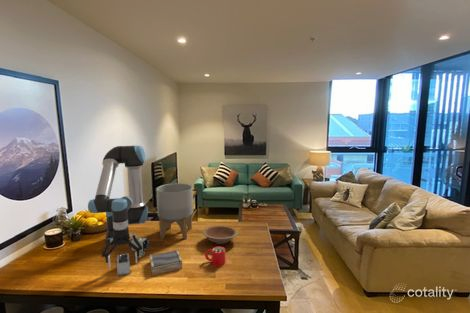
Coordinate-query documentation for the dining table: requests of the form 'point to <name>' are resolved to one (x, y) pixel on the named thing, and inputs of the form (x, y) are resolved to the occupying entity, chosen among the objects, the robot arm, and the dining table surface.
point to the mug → (216, 256)
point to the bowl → (220, 233)
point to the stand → (165, 262)
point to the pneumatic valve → (144, 244)
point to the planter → (175, 207)
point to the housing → (123, 264)
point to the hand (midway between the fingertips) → (123, 264)
